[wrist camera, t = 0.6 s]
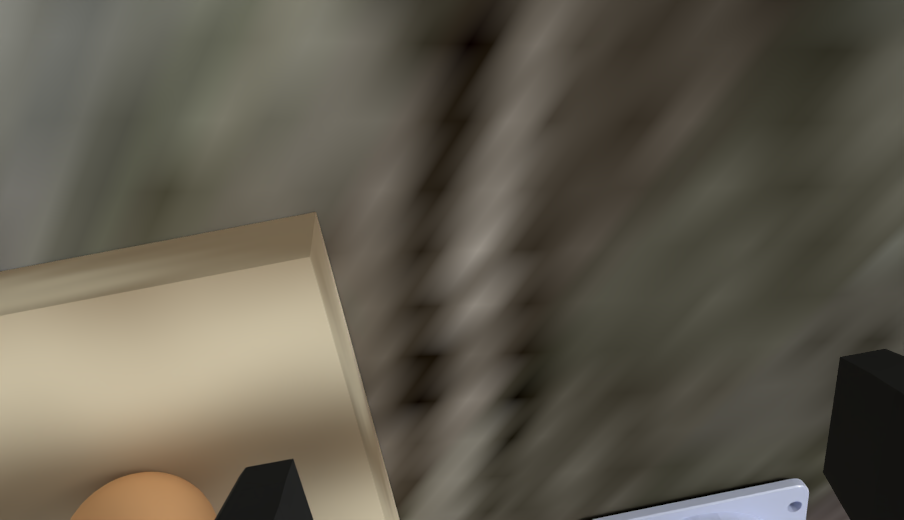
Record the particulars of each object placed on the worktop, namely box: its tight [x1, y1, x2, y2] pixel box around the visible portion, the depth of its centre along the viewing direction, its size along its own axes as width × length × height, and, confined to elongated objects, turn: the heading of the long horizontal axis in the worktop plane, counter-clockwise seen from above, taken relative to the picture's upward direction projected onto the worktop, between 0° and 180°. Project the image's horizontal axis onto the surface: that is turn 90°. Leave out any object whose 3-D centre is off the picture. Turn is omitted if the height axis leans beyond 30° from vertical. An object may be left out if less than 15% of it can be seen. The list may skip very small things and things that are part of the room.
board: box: [0, 212, 400, 520], centre depth 20 cm, size 12×20×2 cm, turn 99°
